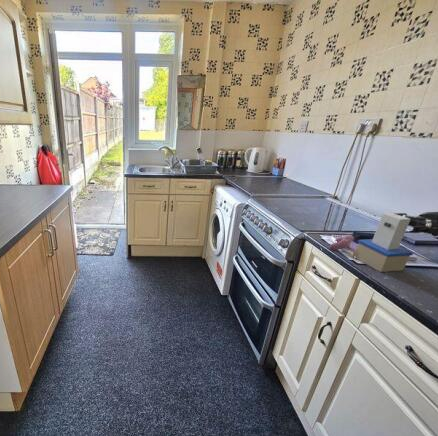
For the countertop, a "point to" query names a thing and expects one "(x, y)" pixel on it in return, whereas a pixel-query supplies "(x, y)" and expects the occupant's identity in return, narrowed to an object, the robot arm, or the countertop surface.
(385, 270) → the container
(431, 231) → the robot arm
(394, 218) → the white case
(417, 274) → the countertop surface
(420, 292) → the countertop surface
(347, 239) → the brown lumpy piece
